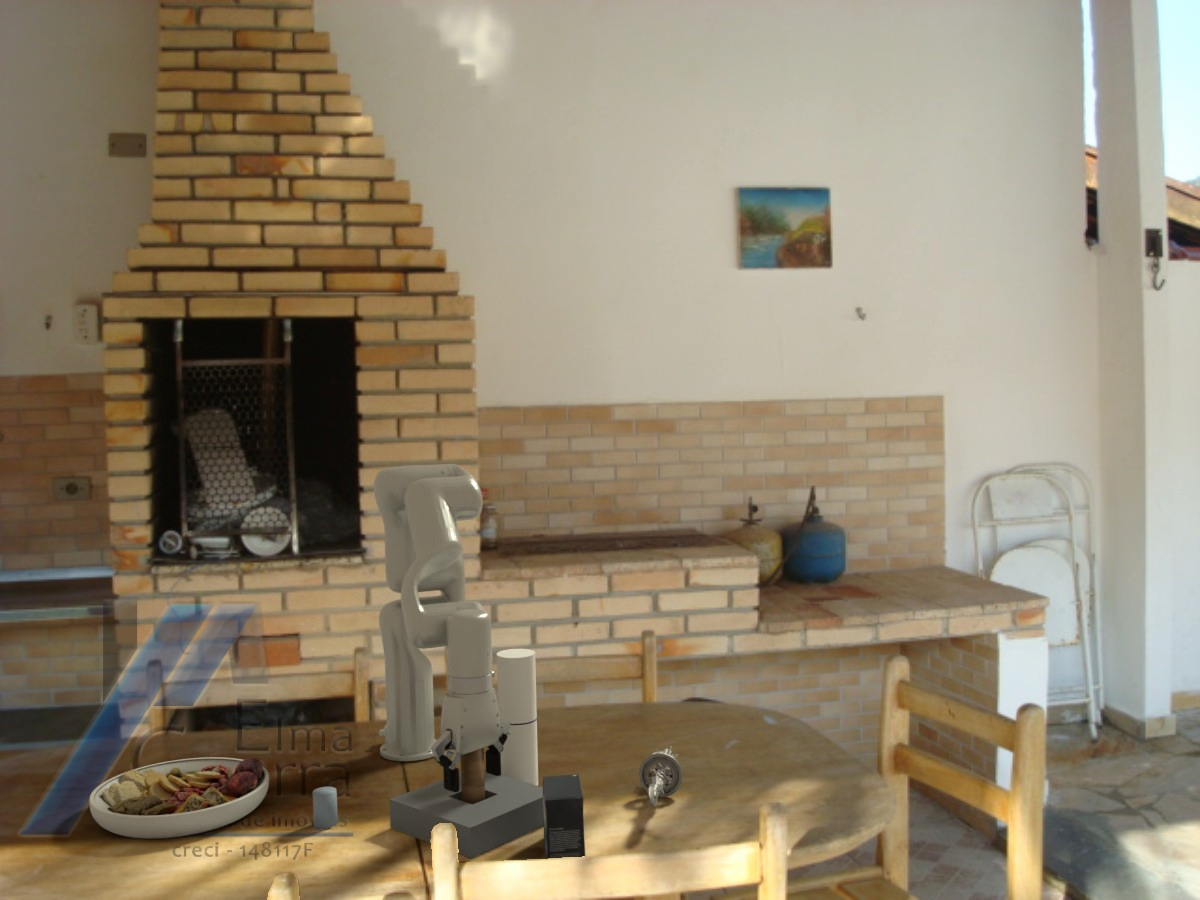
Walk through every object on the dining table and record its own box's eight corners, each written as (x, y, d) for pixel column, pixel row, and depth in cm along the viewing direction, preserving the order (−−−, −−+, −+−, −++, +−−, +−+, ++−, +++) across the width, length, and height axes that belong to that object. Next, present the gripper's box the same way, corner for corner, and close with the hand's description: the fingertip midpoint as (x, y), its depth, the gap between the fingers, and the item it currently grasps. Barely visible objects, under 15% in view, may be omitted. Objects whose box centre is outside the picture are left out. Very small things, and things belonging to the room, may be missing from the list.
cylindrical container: (532, 793, 208) (529, 658, 206) (495, 791, 209) (491, 657, 208) (542, 779, 215) (539, 649, 213) (506, 777, 216) (502, 648, 215)
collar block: (390, 828, 193) (389, 799, 193) (476, 793, 208) (476, 767, 208) (471, 858, 180) (470, 827, 180) (556, 819, 195) (556, 791, 195)
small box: (542, 836, 188) (541, 774, 187) (581, 834, 189) (580, 772, 188) (545, 863, 178) (543, 798, 177) (586, 861, 178) (585, 796, 178)
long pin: (457, 824, 194) (455, 744, 193) (474, 817, 197) (472, 738, 196) (473, 830, 191) (471, 748, 190) (490, 823, 194) (488, 742, 193)
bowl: (98, 860, 183) (96, 812, 182) (84, 801, 209) (82, 759, 208) (286, 823, 197) (285, 778, 196) (251, 772, 223) (249, 733, 223)
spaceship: (620, 786, 188) (664, 769, 187) (642, 741, 223) (679, 727, 222) (638, 832, 188) (682, 815, 187) (657, 780, 222) (695, 765, 221)
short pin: (309, 825, 195) (307, 791, 194) (328, 818, 198) (327, 785, 197) (323, 831, 192) (321, 796, 192) (342, 824, 195) (341, 790, 195)
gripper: (491, 669, 201) (494, 764, 203) (416, 691, 188) (419, 791, 189) (521, 676, 197) (524, 772, 198) (446, 698, 183) (449, 802, 185)
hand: (473, 782), depth 194 cm, fingers open, 9 cm apart
